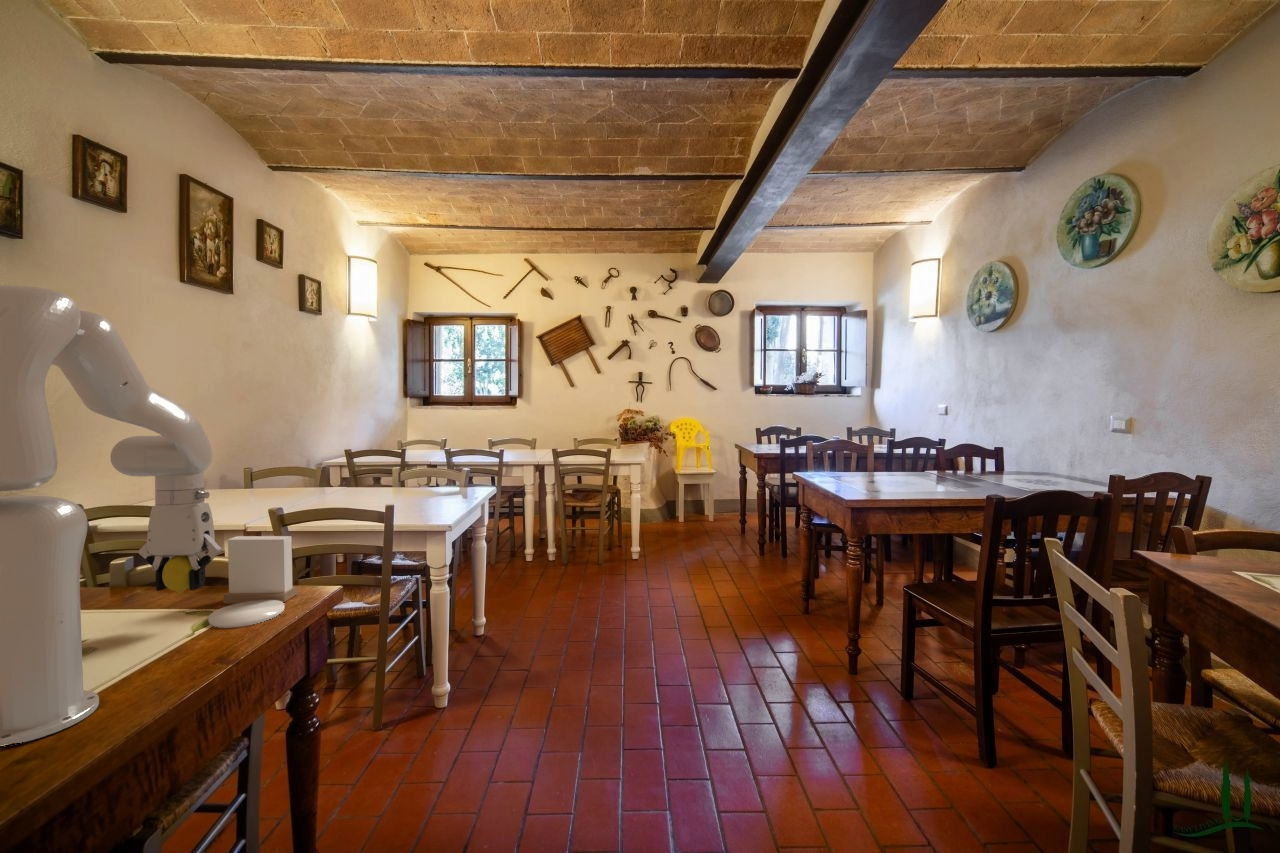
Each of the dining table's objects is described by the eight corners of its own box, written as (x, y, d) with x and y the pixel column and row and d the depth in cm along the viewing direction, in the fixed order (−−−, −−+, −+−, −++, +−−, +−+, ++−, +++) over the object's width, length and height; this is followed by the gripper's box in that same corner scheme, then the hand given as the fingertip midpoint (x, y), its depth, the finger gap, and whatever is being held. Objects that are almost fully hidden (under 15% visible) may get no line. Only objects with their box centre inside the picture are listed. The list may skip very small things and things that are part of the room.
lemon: (182, 597, 107) (182, 556, 107) (154, 597, 108) (154, 556, 108) (205, 589, 113) (205, 550, 113) (179, 589, 113) (178, 549, 113)
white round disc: (260, 627, 110) (260, 622, 110) (191, 628, 109) (191, 623, 109) (297, 603, 123) (297, 599, 123) (236, 604, 122) (236, 599, 122)
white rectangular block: (284, 603, 123) (283, 540, 122) (223, 603, 122) (222, 540, 122) (297, 595, 128) (296, 535, 127) (239, 595, 127) (237, 535, 127)
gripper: (237, 495, 114) (238, 582, 114) (150, 495, 113) (151, 583, 114) (211, 500, 107) (212, 593, 107) (118, 500, 106) (118, 595, 106)
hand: (180, 587), depth 110 cm, fingers closed on lemon, 5 cm apart
